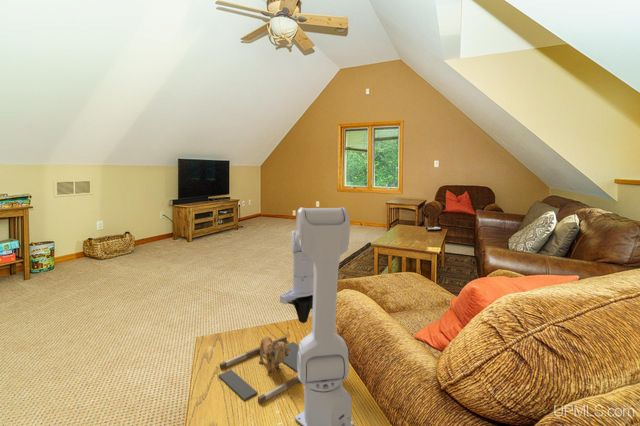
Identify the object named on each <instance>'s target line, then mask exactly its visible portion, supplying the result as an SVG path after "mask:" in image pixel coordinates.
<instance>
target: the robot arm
mask: <svg viewBox="0 0 640 426" xmlns="http://www.w3.org/2000/svg"><path fill="white" fill-rule="evenodd" d="M295 219H296V221H295V223H296V224H295V225H296V231H295V230H292V231H291V235H290V248H291V252H292V286H291V289H289V290H288V291H286V292H284V293H282V294H280V295H279V302H280V303H281V304H283V305H286V304H288V303H289V302H291V303H292V304H293V306H294V309H295V312H296V314H297V318H298V319H297V320H298V322H300V323H302V324H305V323H307V322H308V319H309V316H310V312H311V313H312V314H311V332H310V333H309V334H307V335H306V336H304V337H303V338H302V339H301V340H300V341H299V344H298V345H299V349H298V353H297V370H298V372H297V376H298V378H299V381H300V383H301V384H303V385H304V388H303V389H304V391H303V393H304V397H303V398H304V400H303V401H304V403H303V405H304V409H303V411H301V412H300V413H299V414H297V415H296V416H295V417H294V419H295V421H297V423H299V424H300V425H301V426H354V425H355V424H354V421H353V420H352V403H353V402H352V401H353V400H352V396H351V393H349V392H348V391H347V390H346V389H345V388H344V385H343V380H346V379H347V377H348V375H349V373H350V362H349V361H350V360H349V349H348V346H347V343H346V341H345V340H344V338H343V337H342V336H341V335H339V334H338V333H336V320H337V303H338V302H337V301H338V280H339V279H338V278H339V266H340V262H341V261H340V259H341V256H342V255H343V254H345V253H346V252H348V250H349V244H350V234H351V233H350V231H351V222H350V215H349V212H348V211H347V209H346V207H344V206H343V207H342V206H341V207H310V208H309V207H308V208H307V207H299V208H298V210H297V211H296V218H295ZM311 309H312V311H311Z"/></svg>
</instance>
